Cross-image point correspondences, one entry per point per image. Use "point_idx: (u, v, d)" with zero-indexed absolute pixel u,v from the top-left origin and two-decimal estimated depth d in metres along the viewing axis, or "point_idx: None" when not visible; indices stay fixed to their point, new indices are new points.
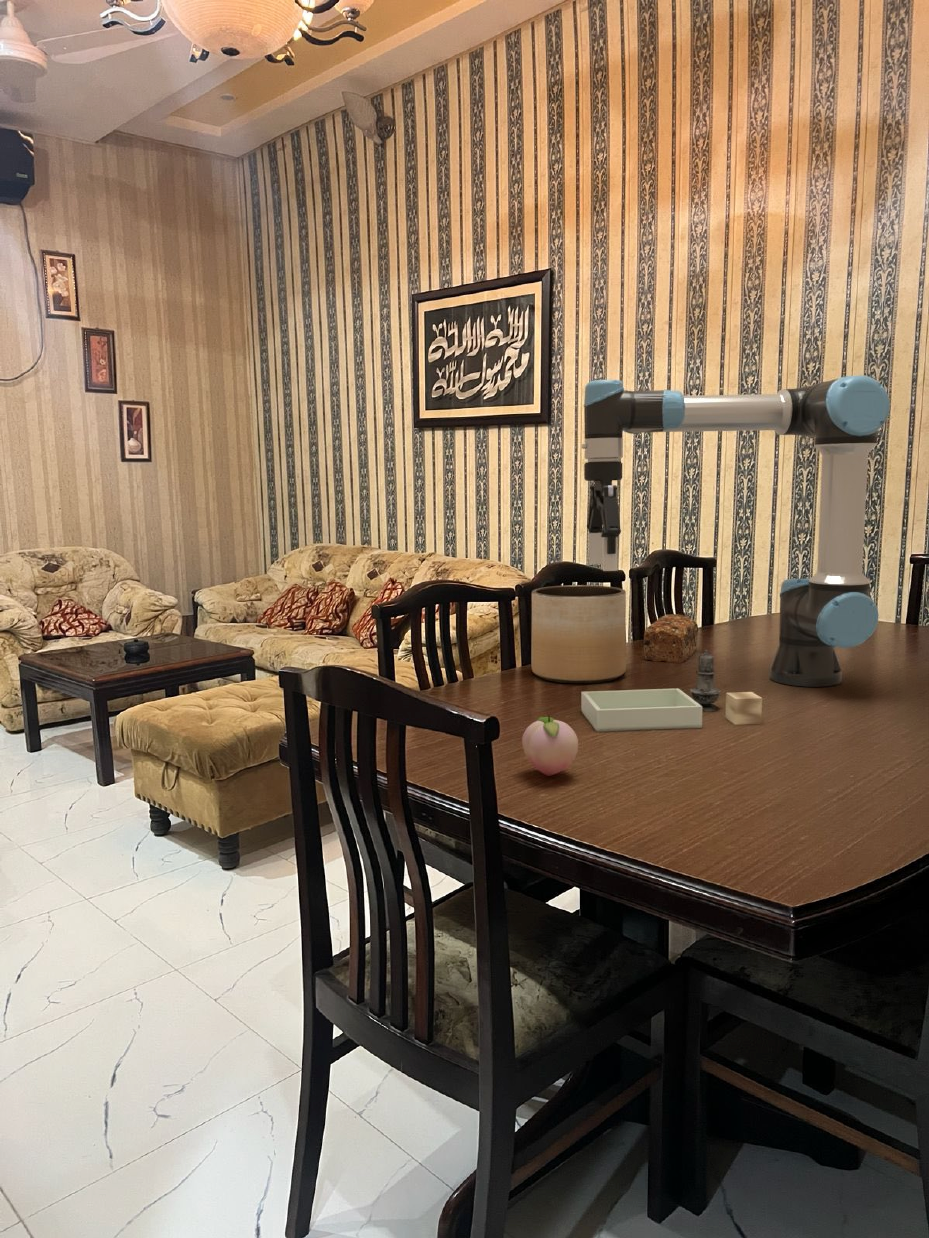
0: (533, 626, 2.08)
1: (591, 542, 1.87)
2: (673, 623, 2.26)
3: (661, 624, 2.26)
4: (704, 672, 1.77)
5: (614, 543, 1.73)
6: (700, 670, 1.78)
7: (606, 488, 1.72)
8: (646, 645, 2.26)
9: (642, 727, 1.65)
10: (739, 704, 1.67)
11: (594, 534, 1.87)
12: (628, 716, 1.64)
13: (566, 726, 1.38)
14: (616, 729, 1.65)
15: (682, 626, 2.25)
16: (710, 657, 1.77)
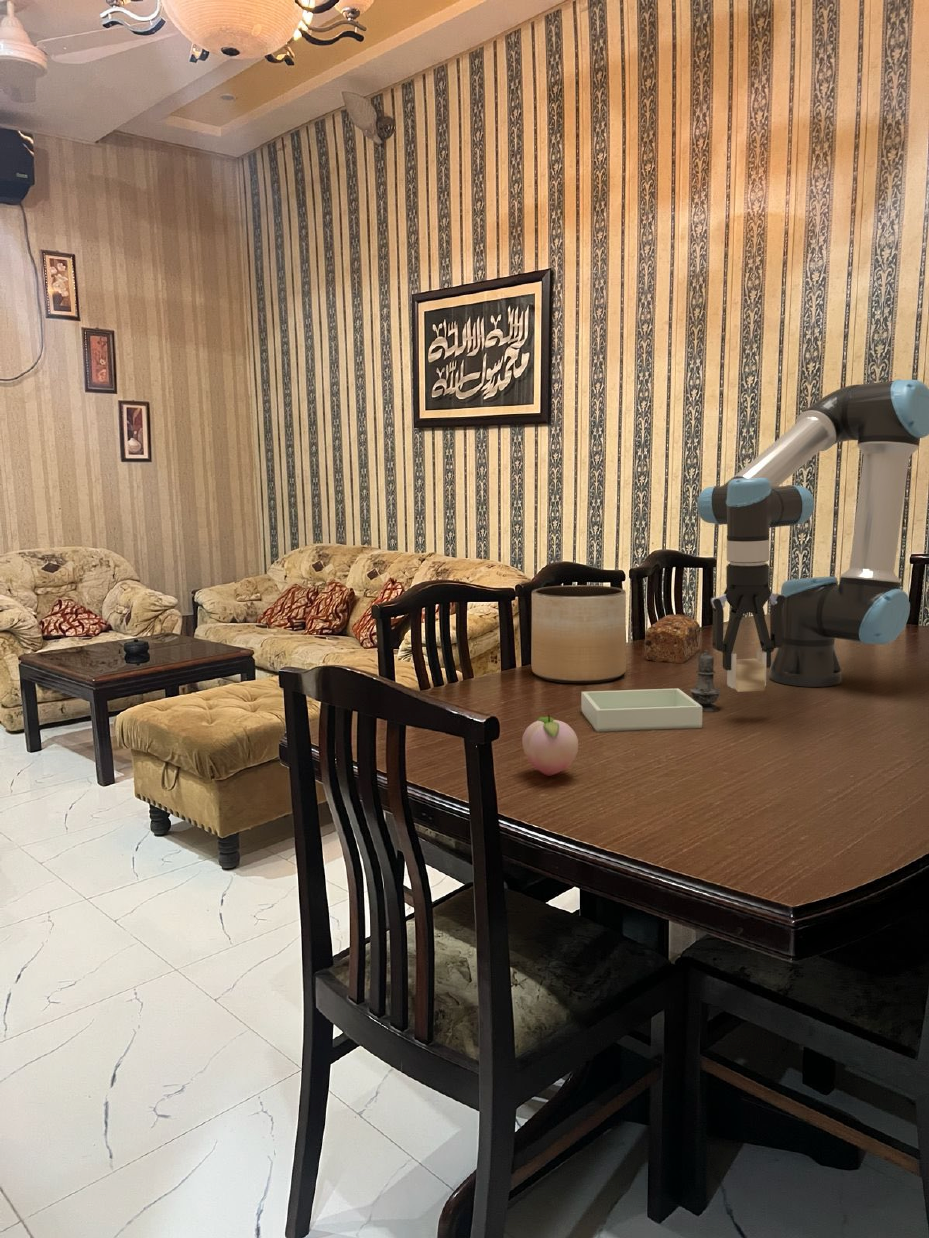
0: (533, 626, 2.08)
1: None
2: (675, 623, 2.26)
3: (663, 624, 2.26)
4: (704, 672, 1.77)
5: (724, 659, 1.68)
6: (700, 670, 1.78)
7: (711, 601, 1.67)
8: (647, 645, 2.25)
9: (642, 727, 1.65)
10: (742, 671, 1.66)
11: (758, 652, 1.69)
12: (628, 716, 1.64)
13: (566, 726, 1.38)
14: (616, 729, 1.65)
15: (684, 627, 2.25)
16: (710, 657, 1.77)
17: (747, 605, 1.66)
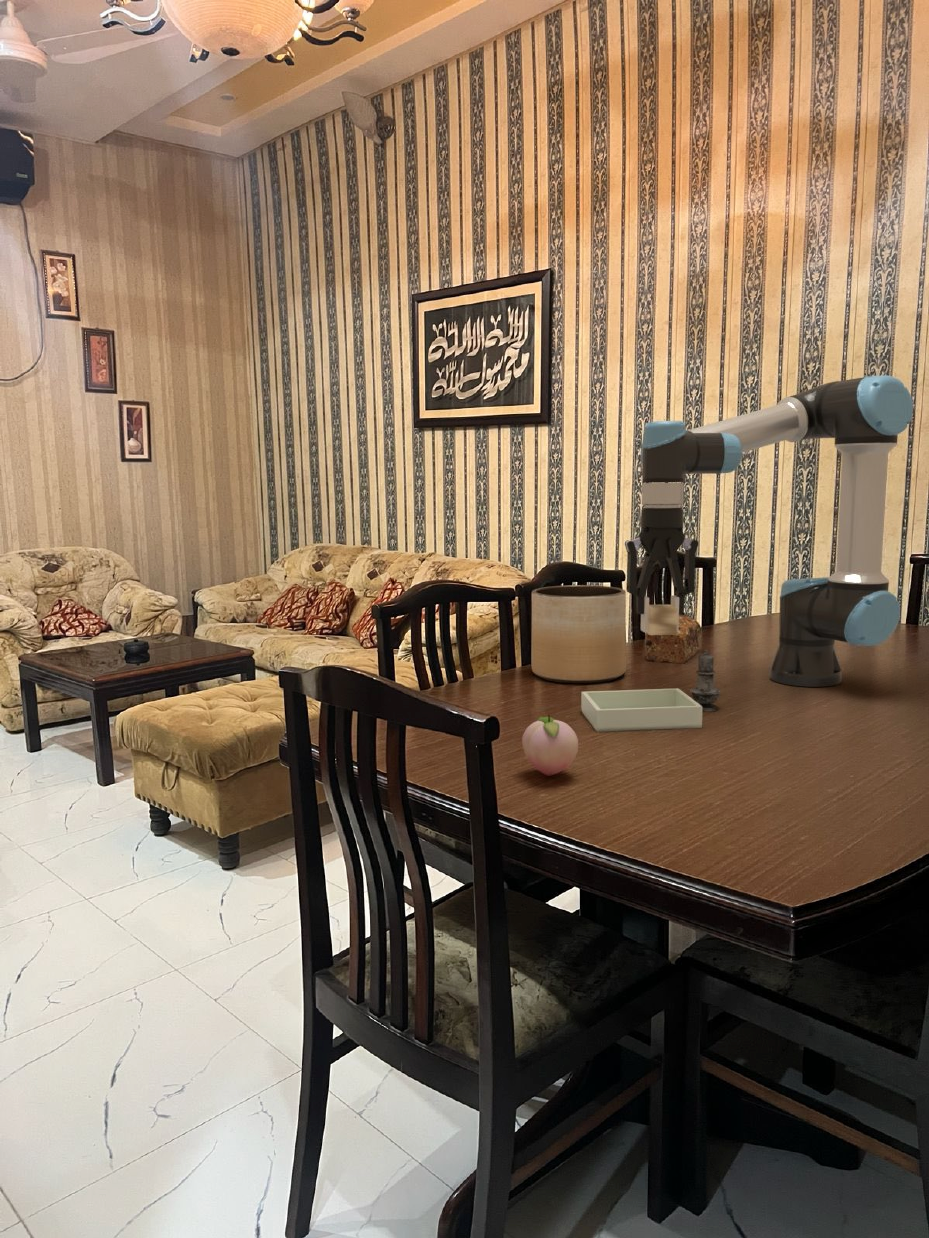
0: (533, 626, 2.08)
1: (671, 605, 1.70)
2: None
3: None
4: (704, 672, 1.77)
5: (637, 603, 1.68)
6: (700, 670, 1.78)
7: (625, 544, 1.67)
8: (648, 645, 2.25)
9: (642, 727, 1.65)
10: (654, 614, 1.66)
11: (672, 597, 1.69)
12: (628, 716, 1.64)
13: (566, 726, 1.38)
14: (616, 729, 1.65)
15: (684, 627, 2.25)
16: (710, 657, 1.77)
17: (661, 549, 1.66)
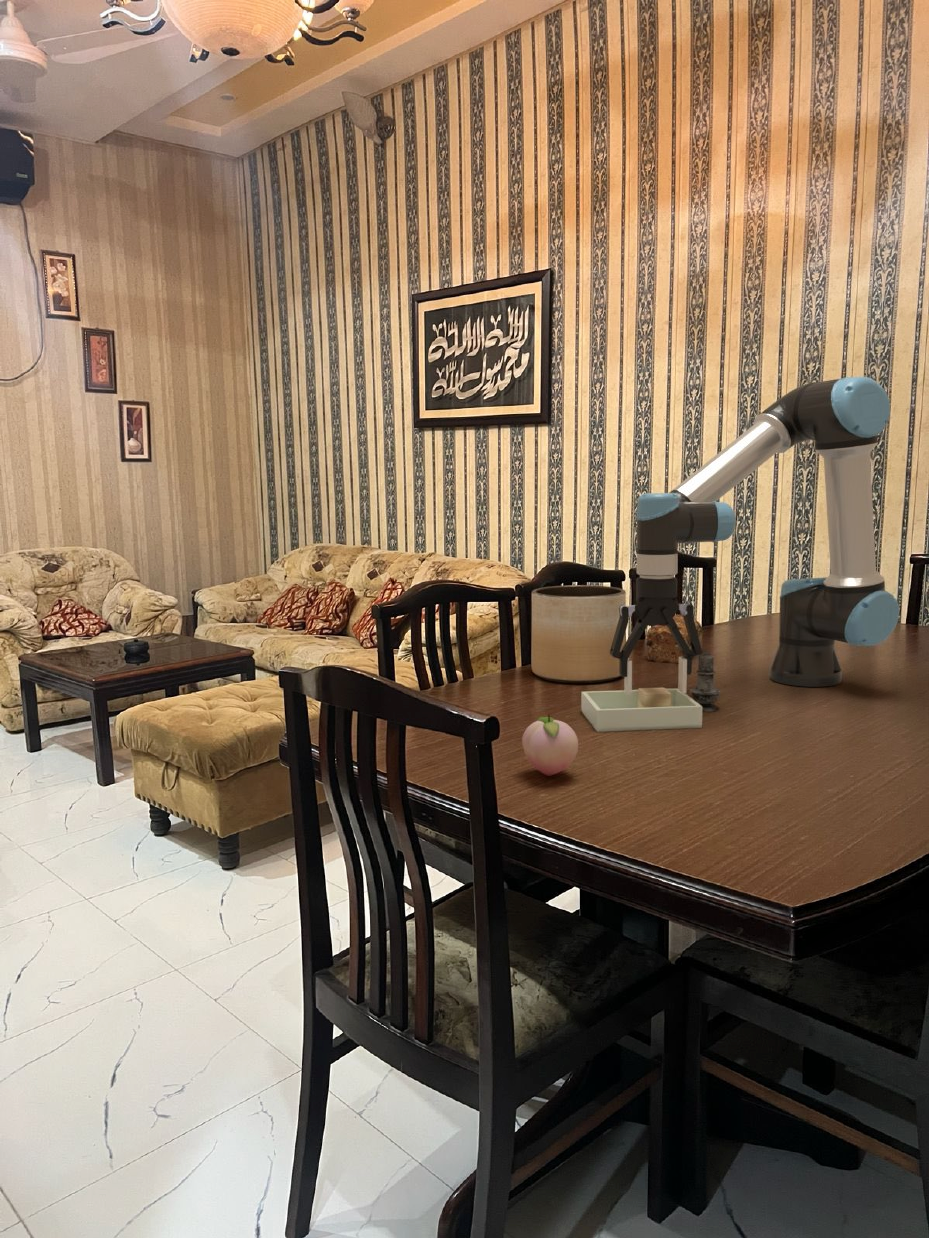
0: (533, 626, 2.08)
1: (679, 666, 1.72)
2: (676, 623, 2.25)
3: None
4: (704, 672, 1.77)
5: (620, 666, 1.70)
6: (700, 670, 1.78)
7: (619, 608, 1.70)
8: (649, 645, 2.25)
9: (642, 727, 1.65)
10: (649, 700, 1.69)
11: (680, 659, 1.71)
12: (628, 716, 1.64)
13: (566, 726, 1.38)
14: (616, 729, 1.65)
15: (685, 627, 2.25)
16: (710, 657, 1.77)
17: (655, 618, 1.68)
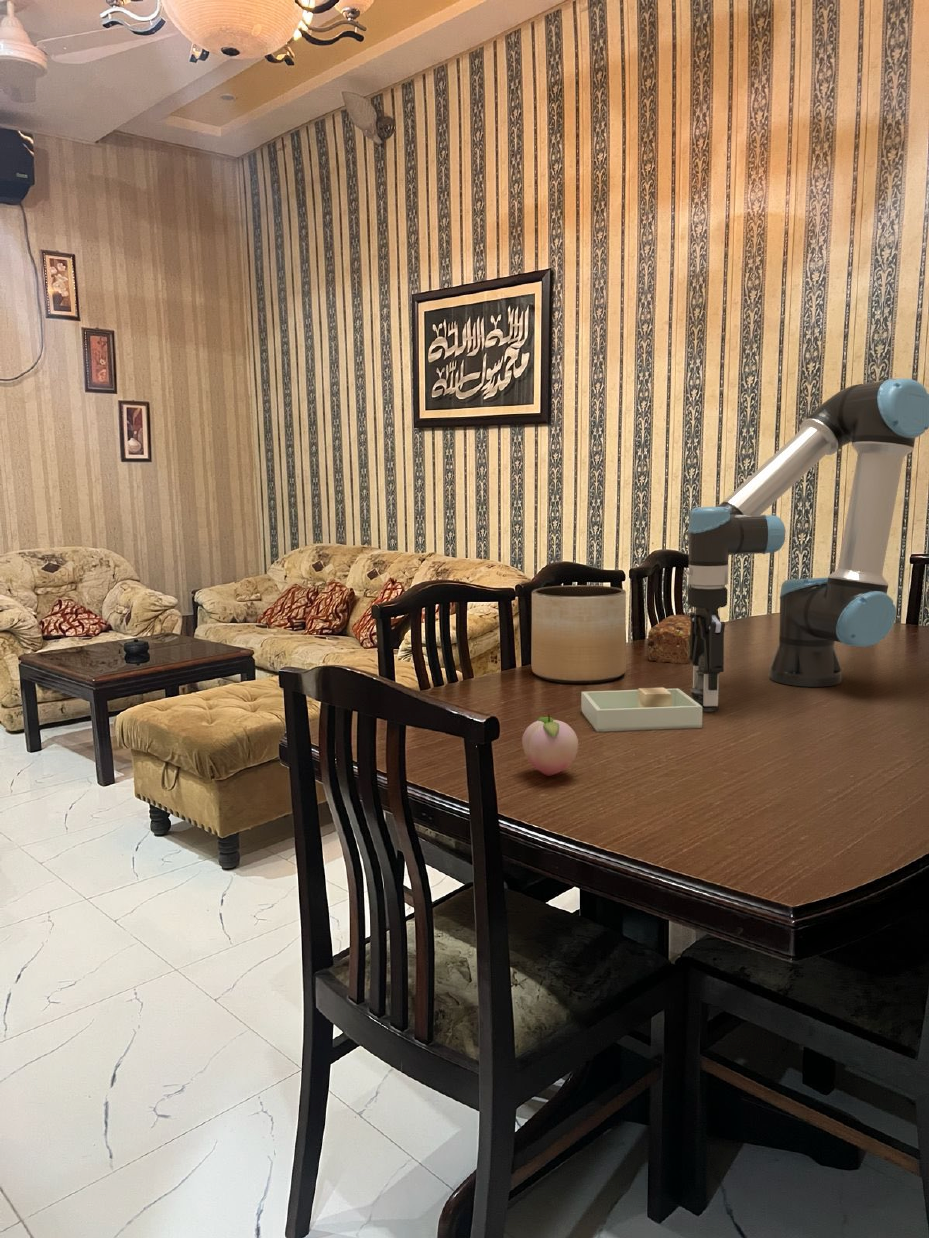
0: (533, 626, 2.08)
1: (695, 675, 1.81)
2: (677, 624, 2.25)
3: (665, 625, 2.25)
4: None
5: (716, 680, 1.74)
6: (700, 670, 1.78)
7: (714, 626, 1.70)
8: (650, 646, 2.24)
9: (642, 727, 1.65)
10: (649, 700, 1.69)
11: None
12: (628, 716, 1.64)
13: (566, 726, 1.38)
14: (616, 729, 1.65)
15: (687, 627, 2.24)
16: None
17: None
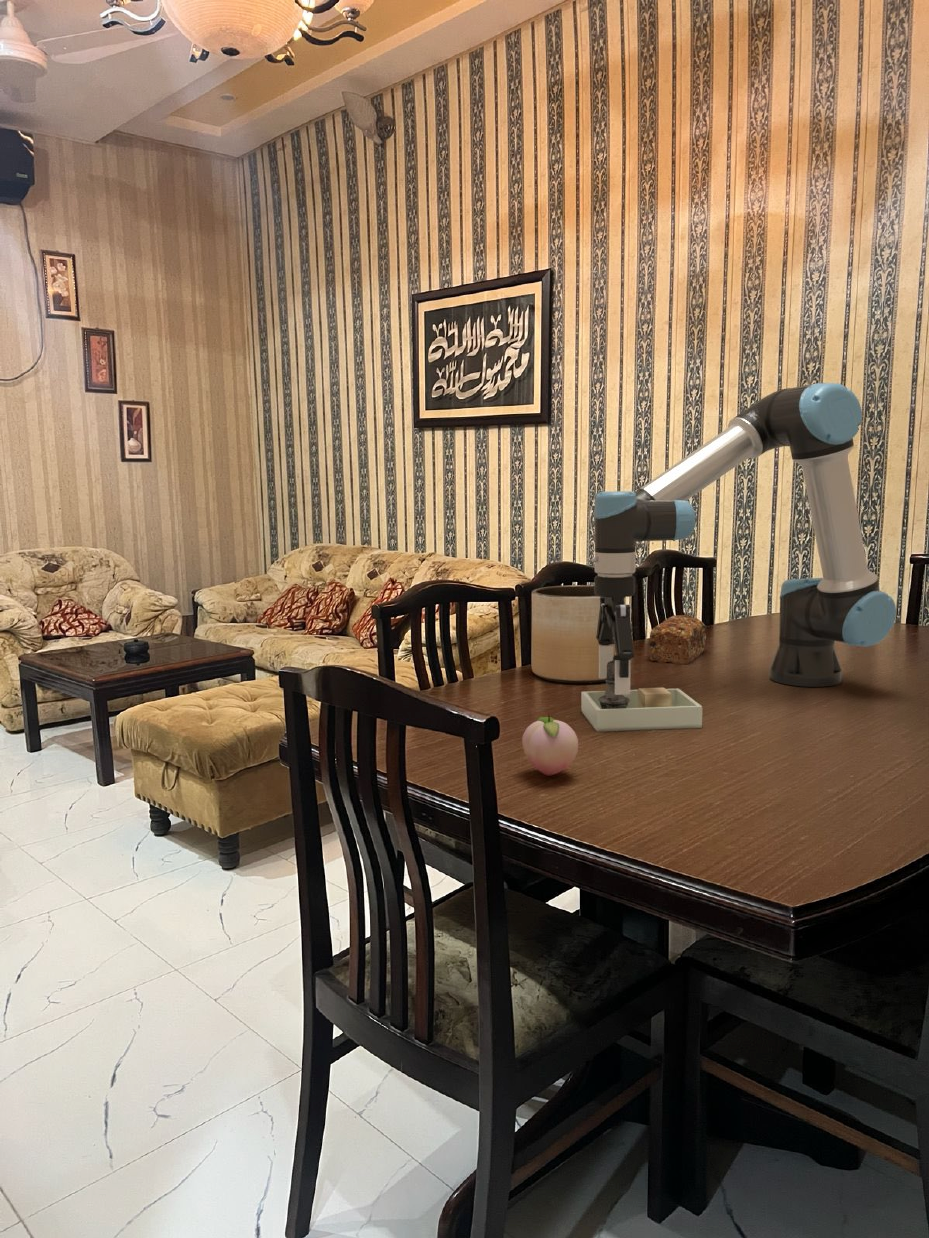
0: (533, 626, 2.08)
1: (601, 655, 1.76)
2: (679, 624, 2.24)
3: (667, 625, 2.25)
4: (611, 680, 1.69)
5: (627, 666, 1.62)
6: (608, 678, 1.70)
7: (618, 608, 1.62)
8: (652, 646, 2.24)
9: (642, 727, 1.65)
10: (649, 700, 1.69)
11: (604, 647, 1.76)
12: (628, 716, 1.64)
13: (566, 726, 1.38)
14: (616, 729, 1.65)
15: (689, 628, 2.24)
16: None
17: None
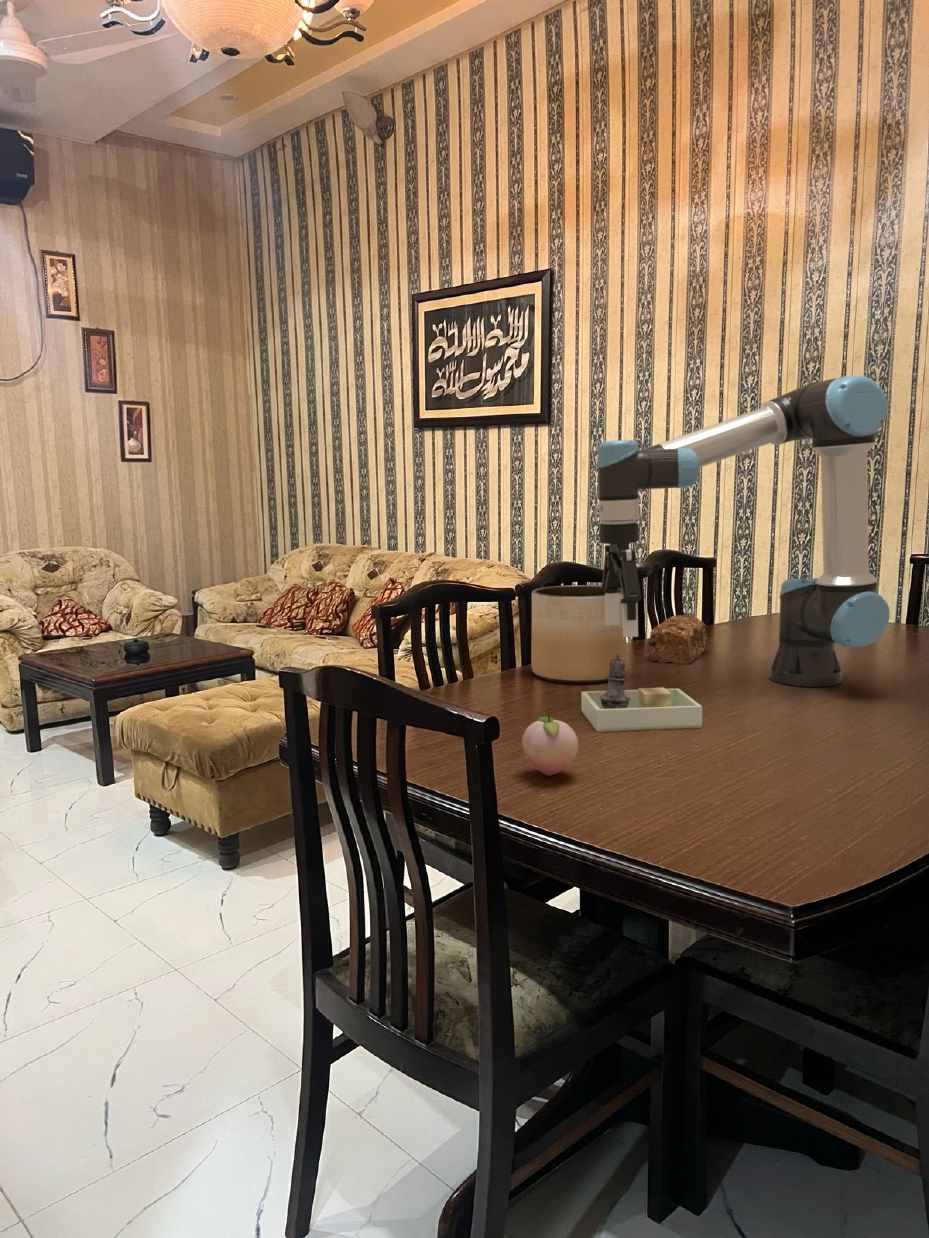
0: (533, 626, 2.08)
1: (607, 603, 1.82)
2: (680, 624, 2.24)
3: (667, 625, 2.24)
4: (614, 677, 1.70)
5: (634, 609, 1.67)
6: (610, 675, 1.70)
7: (624, 553, 1.67)
8: (652, 646, 2.24)
9: (642, 727, 1.65)
10: (649, 700, 1.69)
11: (610, 595, 1.82)
12: (628, 716, 1.64)
13: (566, 726, 1.38)
14: (616, 729, 1.65)
15: (689, 628, 2.24)
16: (621, 662, 1.70)
17: None
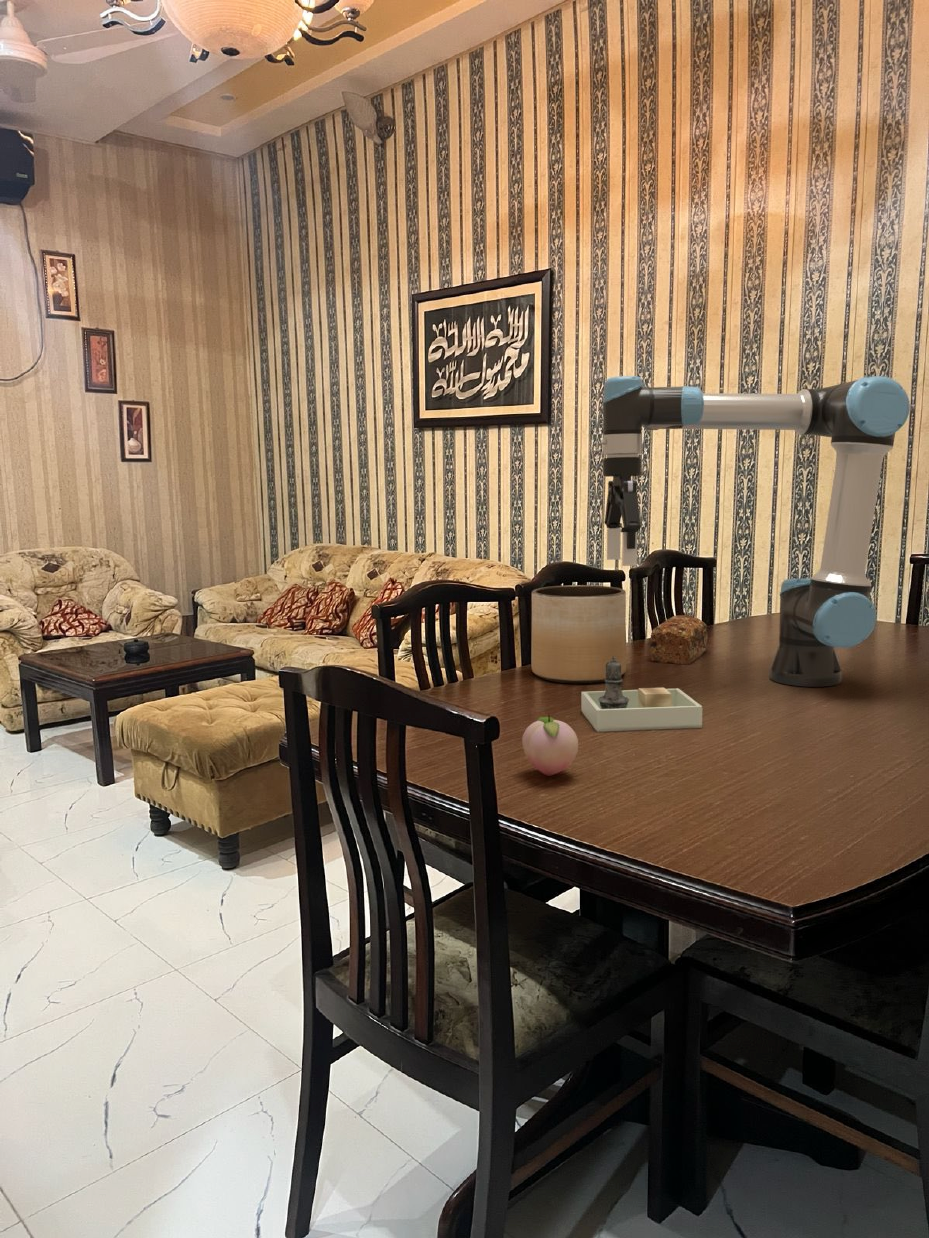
0: (533, 626, 2.08)
1: (609, 537, 1.89)
2: (680, 624, 2.24)
3: (668, 625, 2.24)
4: (611, 680, 1.69)
5: (634, 538, 1.74)
6: (608, 678, 1.70)
7: (626, 483, 1.74)
8: (653, 646, 2.24)
9: (642, 727, 1.65)
10: (649, 700, 1.69)
11: (612, 529, 1.88)
12: (628, 716, 1.64)
13: (566, 726, 1.38)
14: (616, 729, 1.65)
15: (690, 628, 2.23)
16: (617, 664, 1.69)
17: None
